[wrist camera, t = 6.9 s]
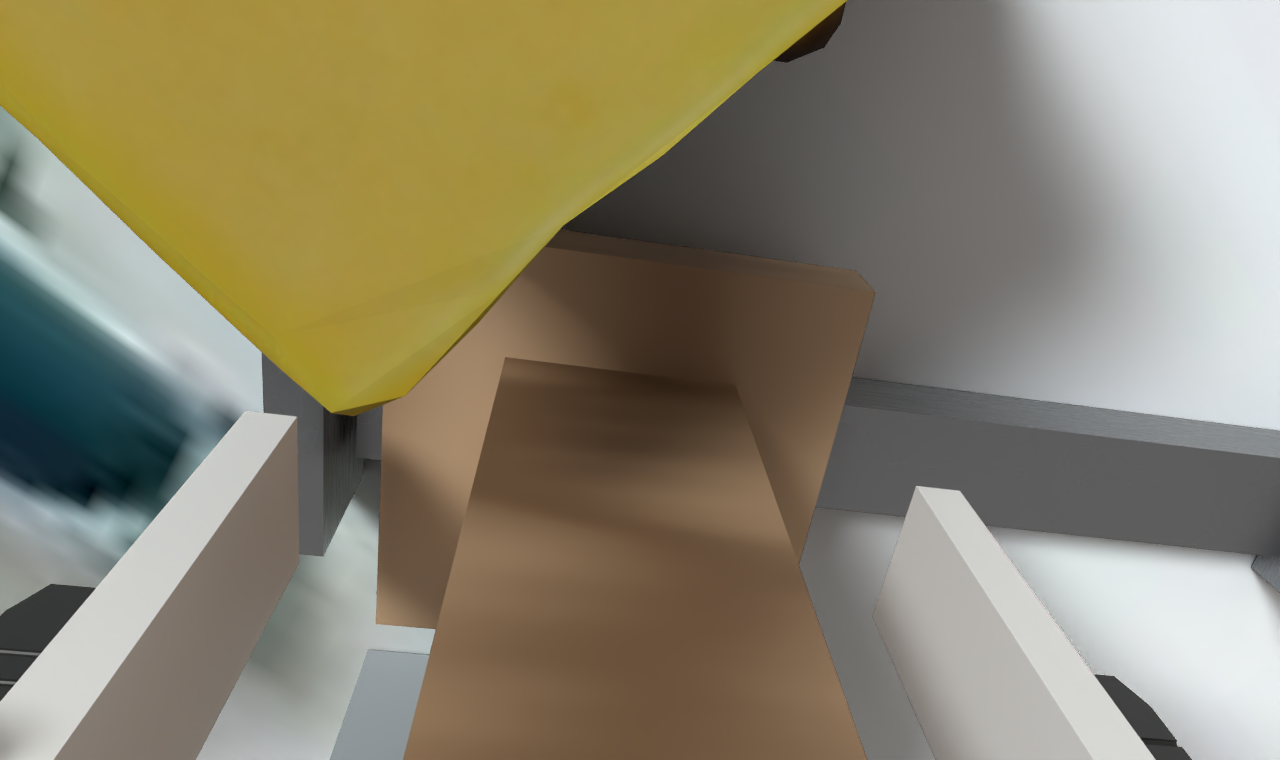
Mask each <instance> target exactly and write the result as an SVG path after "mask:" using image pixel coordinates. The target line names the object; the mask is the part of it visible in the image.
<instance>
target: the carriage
mask: <svg viewBox="0 0 1280 760" xmlns="http://www.w3.org/2000/svg"><path fill="white" fill-rule="evenodd" d="M875 293H876V292H875V291H874V290H873V289H872V287H871V286H870V285H869V284H868V283H867V282H866V281H865V280H864V279H863V278H862V277H861V276H860V275H859V274H858V272H857V271H855V270H848V269H841V268H834V267H826V266H819V265H812V264H805V263H798V262H790V261H783V260H776V259H769V258H762V257H754V256H747V255H740V254H733V253H726V252H718V251H711V250H704V249H697V248H690V247H682V246H675V245H668V244H661V243H654V242H646V241H639V240H632V239H625V238H618V237H610V236H603V235H596V234H589V233H582V232H574V231H567V230H559V231H558V232H557V233H556V235H555V236H554V237H553V238H552V239H551V240H550V241H549V243H548V244H547V245H546V246H545V247H544V248H543V249H542V251H541V252H540V253H539V254H538V255H537V256H536V258H535V259H534V260H533V261H532V262H531V263H530V264H529V266H528V267H527V268H526V269H525V270H524V271H523V272H522V274H521V275H520V276H519V277H518V278H517V279H516V280H515V282H514V283H513V284H512V285H511V286H510V287H509V288H508V290H507V291H506V292H505V293H504V294H503V295H502V297H501V298H500V299H499V300H498V301H497V302H496V303H495V305H494V306H493V307H492V308H491V309H490V310H489V311H488V313H487V314H486V315H485V316H484V317H483V318H482V319H481V321H480V322H479V323H478V324H477V325H476V326H475V327H474V328H473V329H472V330H471V331H470V332H469V333H468V334H467V335H466V336H465V337H464V338H463V339H462V340H461V341H460V342H459V343H458V344H457V345H456V346H455V347H454V348H453V349H452V350H451V351H450V352H449V353H448V354H447V355H446V356H445V357H444V358H443V359H442V360H441V361H440V362H439V363H438V364H437V365H436V366H435V367H434V368H433V369H432V370H431V371H430V372H429V373H428V374H427V375H426V376H425V377H424V378H423V379H422V380H421V381H420V382H419V383H418V384H417V385H416V386H415V387H414V388H413V389H411V390H410V391H409V392H408V393H407V394H406V395H405V396H404V397H402V398H399V399H397V400H394V401H391V402H389V403H386V404H384V405H383V419H382V451H381V482H380V513H379V544H378V576H377V607H376V624H383V625H395V626H406V627H417V628H429V629H436V631H435V635H434V639H433V643H432V647H431V651H430V655H429V659H428V663H427V667H426V671H425V675H424V679H423V683H422V686H421V690H420V694H419V698H418V702H417V706H416V710H415V714H414V718H413V722H412V726H411V730H410V734H409V738H408V742H407V745H406V749H405V753H404V757H403V760H867V758H866V755H865V752H864V749H863V746H862V744H861V741H860V738H859V735H858V732H857V729H856V726H855V724H854V721H853V718H852V715H851V712H850V709H849V707H848V704H847V701H846V698H845V695H844V692H843V690H842V687H841V684H840V681H839V678H838V675H837V672H836V670H835V667H834V664H833V661H832V658H831V655H830V653H829V650H828V647H827V644H826V641H825V638H824V636H823V633H822V630H821V627H820V624H819V621H818V618H817V616H816V613H815V610H814V607H813V604H812V601H811V599H810V596H809V593H808V590H807V587H806V584H805V582H804V579H803V576H802V573H801V570H800V567H799V562H800V559H801V555H802V552H803V548H804V545H805V541H806V537H807V534H808V530H809V527H810V523H811V520H812V516H813V513H814V509H815V506H816V502H817V498H818V495H819V491H820V488H821V484H822V481H823V477H824V474H825V470H826V467H827V463H828V459H829V456H830V452H831V449H832V445H833V442H834V438H835V435H836V431H837V428H838V424H839V420H840V417H841V413H842V410H843V406H844V403H845V399H846V396H847V392H848V389H849V385H850V381H851V378H852V374H853V371H854V367H855V364H856V360H857V357H858V353H859V350H860V346H861V342H862V339H863V335H864V332H865V328H866V325H867V321H868V318H869V314H870V311H871V307H872V303H873V300H874V296H875Z"/></svg>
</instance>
